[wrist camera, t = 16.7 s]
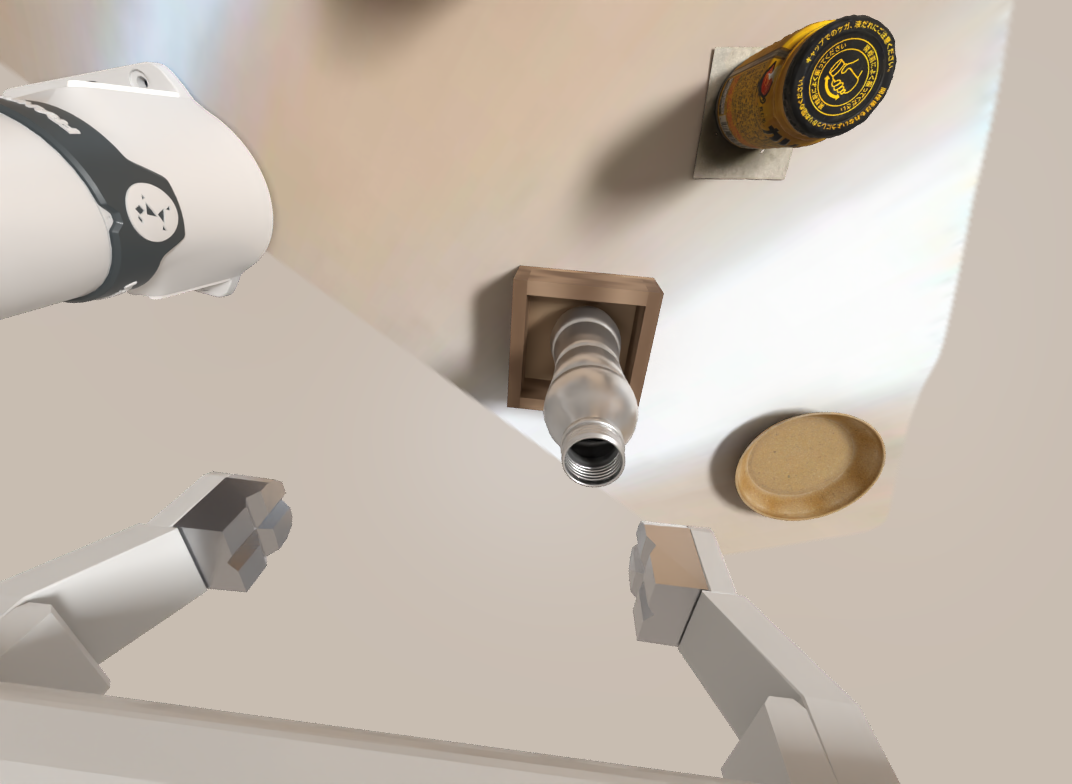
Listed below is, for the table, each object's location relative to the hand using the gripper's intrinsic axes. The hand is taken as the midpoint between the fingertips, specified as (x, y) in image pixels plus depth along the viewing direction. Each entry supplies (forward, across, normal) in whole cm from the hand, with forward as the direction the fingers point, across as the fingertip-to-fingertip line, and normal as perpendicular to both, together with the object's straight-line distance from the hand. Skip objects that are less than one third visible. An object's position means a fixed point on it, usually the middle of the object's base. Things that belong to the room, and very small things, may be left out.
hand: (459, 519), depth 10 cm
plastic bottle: (+32, -4, +8) cm, 34 cm away
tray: (+33, -4, +8) cm, 34 cm away
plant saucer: (+34, -30, +20) cm, 49 cm away
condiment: (+33, -15, -11) cm, 38 cm away
